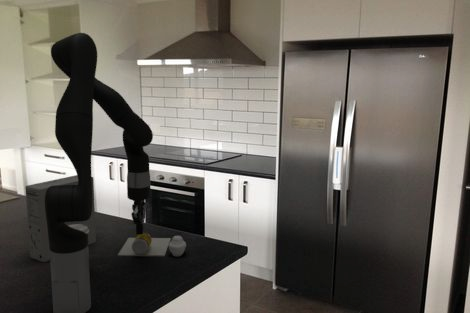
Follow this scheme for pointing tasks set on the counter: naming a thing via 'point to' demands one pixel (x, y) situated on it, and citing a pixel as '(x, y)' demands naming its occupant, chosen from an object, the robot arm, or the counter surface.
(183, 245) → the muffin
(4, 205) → the counter surface
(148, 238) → the supplement bottle
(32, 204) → the cereal box
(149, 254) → the topple mat
